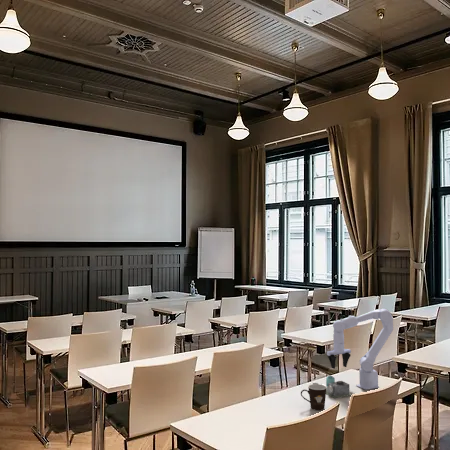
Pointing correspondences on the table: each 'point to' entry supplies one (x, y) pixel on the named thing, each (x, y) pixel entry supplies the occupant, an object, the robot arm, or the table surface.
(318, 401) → the coffee mug
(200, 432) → the table surface
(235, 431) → the table surface
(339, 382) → the motor
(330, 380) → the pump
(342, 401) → the table surface
